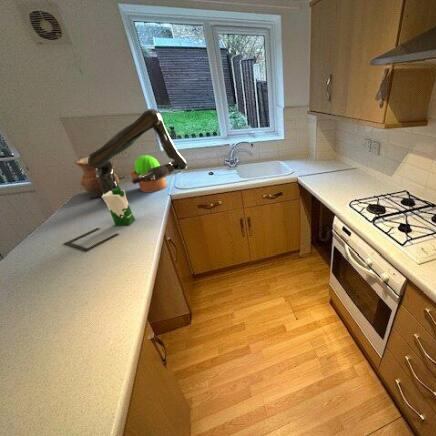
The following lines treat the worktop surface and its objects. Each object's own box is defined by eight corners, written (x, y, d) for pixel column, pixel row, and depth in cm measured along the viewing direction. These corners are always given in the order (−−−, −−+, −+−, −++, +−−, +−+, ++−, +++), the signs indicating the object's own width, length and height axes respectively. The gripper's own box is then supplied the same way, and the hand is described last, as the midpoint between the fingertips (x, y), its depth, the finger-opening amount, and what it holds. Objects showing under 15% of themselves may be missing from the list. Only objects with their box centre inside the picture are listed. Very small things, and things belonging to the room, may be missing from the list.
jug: (87, 200, 162) (70, 164, 150) (85, 192, 176) (69, 158, 164) (125, 192, 175) (111, 158, 163) (119, 184, 189) (107, 153, 177)
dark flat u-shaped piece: (64, 244, 117) (64, 243, 116) (97, 228, 129) (97, 228, 129) (85, 251, 111) (85, 251, 110) (118, 234, 123) (117, 234, 123)
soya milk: (129, 226, 130) (115, 192, 121) (112, 227, 130) (97, 193, 120) (137, 218, 138) (125, 185, 129) (121, 219, 138) (107, 186, 128)
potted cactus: (174, 182, 191) (165, 150, 179) (162, 192, 172) (151, 158, 160) (146, 183, 191) (136, 151, 178) (131, 194, 171) (118, 159, 159)
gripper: (149, 165, 148) (122, 174, 135) (164, 167, 144) (138, 176, 130) (152, 177, 152) (127, 186, 138) (168, 179, 147) (143, 189, 133)
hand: (132, 182), depth 134 cm, fingers closed
